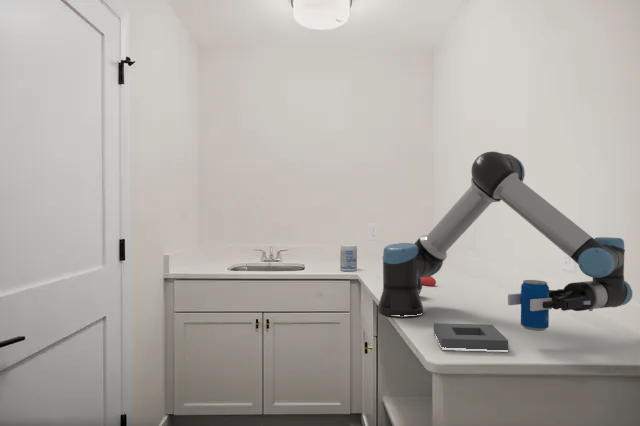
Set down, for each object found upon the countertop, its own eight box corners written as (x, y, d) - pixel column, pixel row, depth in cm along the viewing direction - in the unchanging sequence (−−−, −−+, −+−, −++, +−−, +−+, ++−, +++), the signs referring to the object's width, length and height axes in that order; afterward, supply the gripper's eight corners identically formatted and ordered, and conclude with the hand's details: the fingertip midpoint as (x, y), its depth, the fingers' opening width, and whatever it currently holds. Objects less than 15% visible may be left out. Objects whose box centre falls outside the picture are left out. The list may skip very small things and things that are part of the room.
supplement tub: (347, 272, 262) (347, 246, 262) (337, 270, 270) (336, 245, 270) (360, 270, 268) (360, 245, 268) (349, 269, 276) (349, 244, 276)
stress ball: (423, 290, 212) (430, 278, 211) (414, 280, 220) (421, 268, 219) (432, 293, 214) (439, 281, 213) (423, 283, 222) (429, 272, 221)
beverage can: (541, 333, 115) (542, 284, 115) (516, 327, 120) (516, 281, 120) (552, 328, 119) (553, 281, 119) (527, 323, 124) (528, 278, 124)
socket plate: (433, 333, 132) (433, 323, 132) (492, 335, 130) (492, 324, 130) (441, 350, 116) (441, 338, 116) (508, 352, 114) (508, 340, 114)
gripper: (618, 317, 117) (552, 326, 108) (552, 302, 135) (491, 309, 126) (619, 288, 117) (552, 294, 108) (553, 277, 135) (491, 281, 126)
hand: (520, 302), depth 117 cm, fingers closed on beverage can, 6 cm apart
